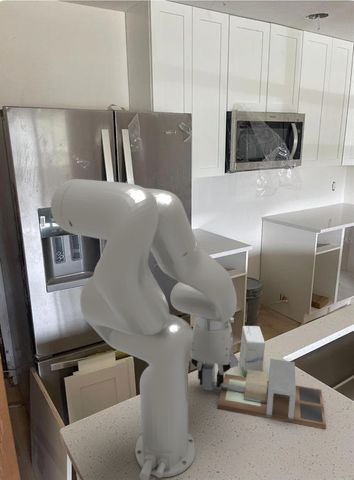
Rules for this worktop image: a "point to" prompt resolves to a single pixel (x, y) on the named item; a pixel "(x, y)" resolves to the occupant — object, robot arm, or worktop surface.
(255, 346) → the ink box
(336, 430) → the worktop surface
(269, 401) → the tunnel
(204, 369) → the grey dumbbell
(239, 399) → the board
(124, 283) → the robot arm
